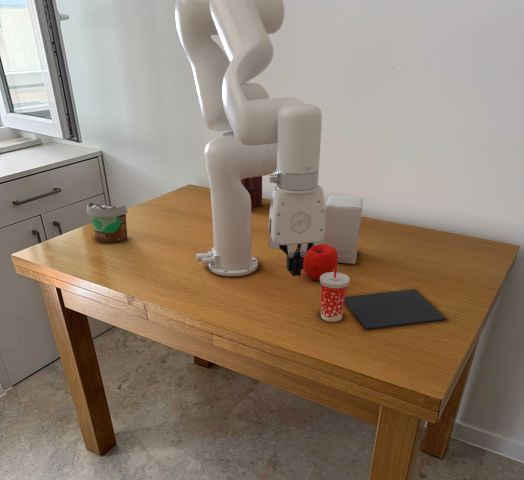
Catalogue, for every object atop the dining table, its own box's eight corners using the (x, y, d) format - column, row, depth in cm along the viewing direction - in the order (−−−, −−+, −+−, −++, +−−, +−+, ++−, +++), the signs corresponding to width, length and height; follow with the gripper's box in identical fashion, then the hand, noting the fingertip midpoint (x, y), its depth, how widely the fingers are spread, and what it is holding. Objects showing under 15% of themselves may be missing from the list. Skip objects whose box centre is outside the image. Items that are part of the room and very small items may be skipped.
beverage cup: (329, 306, 114) (334, 247, 106) (351, 316, 110) (358, 255, 103) (311, 316, 110) (315, 255, 103) (333, 326, 107) (339, 264, 99)
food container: (82, 241, 146) (75, 206, 141) (96, 234, 151) (90, 200, 146) (119, 247, 143) (113, 212, 137) (131, 239, 147) (126, 205, 142)
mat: (365, 329, 106) (366, 328, 105) (342, 299, 117) (342, 297, 117) (444, 320, 109) (445, 318, 109) (414, 290, 120) (414, 289, 120)
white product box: (356, 264, 133) (362, 207, 125) (321, 262, 134) (325, 205, 126) (357, 251, 140) (363, 196, 132) (325, 248, 142) (328, 194, 133)
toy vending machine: (249, 213, 167) (248, 120, 151) (225, 206, 173) (221, 116, 157) (267, 207, 172) (268, 116, 157) (243, 200, 178) (241, 112, 163)
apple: (309, 288, 122) (311, 257, 117) (293, 273, 128) (294, 244, 124) (342, 281, 125) (345, 251, 120) (324, 267, 131) (326, 238, 127)
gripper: (261, 188, 88) (262, 285, 98) (344, 182, 91) (336, 277, 101) (252, 177, 94) (254, 269, 104) (330, 172, 97) (324, 262, 107)
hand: (294, 273), depth 102 cm, fingers closed
